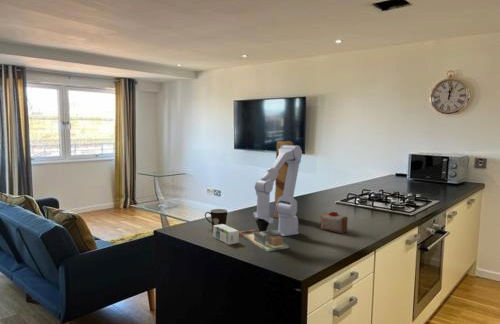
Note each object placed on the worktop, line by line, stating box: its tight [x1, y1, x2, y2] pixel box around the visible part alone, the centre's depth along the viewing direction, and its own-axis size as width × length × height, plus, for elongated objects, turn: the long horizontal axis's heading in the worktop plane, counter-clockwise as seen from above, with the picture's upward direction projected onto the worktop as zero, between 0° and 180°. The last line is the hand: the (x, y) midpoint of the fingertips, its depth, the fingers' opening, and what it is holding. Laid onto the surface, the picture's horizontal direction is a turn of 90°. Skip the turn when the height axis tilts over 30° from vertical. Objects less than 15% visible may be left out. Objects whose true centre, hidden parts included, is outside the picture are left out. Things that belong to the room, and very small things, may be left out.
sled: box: [262, 230, 284, 248], centre depth 160 cm, size 5×12×4 cm, turn 29°
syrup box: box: [212, 224, 240, 245], centre depth 167 cm, size 6×6×14 cm
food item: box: [320, 211, 349, 234], centre depth 186 cm, size 14×8×10 cm, turn 50°
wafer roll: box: [273, 140, 295, 219], centre depth 212 cm, size 10×11×45 cm
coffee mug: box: [204, 208, 229, 230], centre depth 184 cm, size 12×9×10 cm
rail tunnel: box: [239, 229, 290, 252], centre depth 167 cm, size 11×28×6 cm, turn 29°
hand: (262, 235), depth 166 cm, fingers closed
